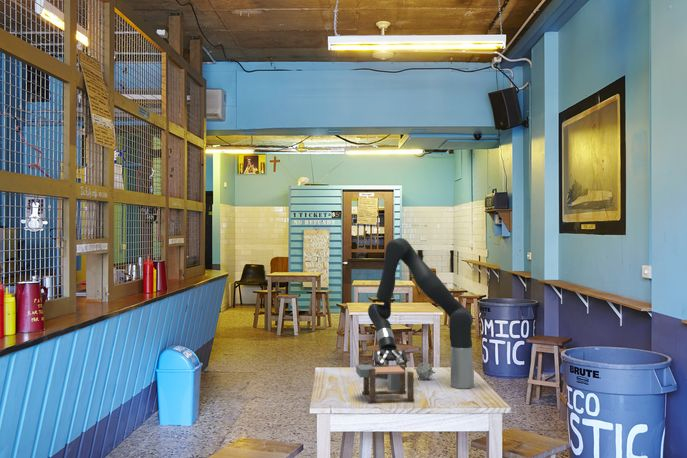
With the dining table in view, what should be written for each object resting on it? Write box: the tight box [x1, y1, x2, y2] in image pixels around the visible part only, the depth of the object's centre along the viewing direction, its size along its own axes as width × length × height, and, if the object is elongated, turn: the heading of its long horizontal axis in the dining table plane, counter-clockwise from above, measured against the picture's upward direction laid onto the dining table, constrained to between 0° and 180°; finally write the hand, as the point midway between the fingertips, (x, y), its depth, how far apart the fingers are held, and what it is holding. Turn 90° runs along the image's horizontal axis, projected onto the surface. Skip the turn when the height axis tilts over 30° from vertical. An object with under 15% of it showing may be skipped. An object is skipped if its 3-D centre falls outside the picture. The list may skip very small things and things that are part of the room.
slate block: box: [387, 364, 400, 391], centre depth 259 cm, size 5×5×10 cm
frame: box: [361, 361, 415, 404], centre depth 246 cm, size 18×15×13 cm
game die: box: [413, 360, 436, 381], centre depth 280 cm, size 9×8×10 cm
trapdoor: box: [355, 363, 406, 378], centre depth 245 cm, size 18×11×3 cm, turn 98°
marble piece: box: [371, 363, 389, 380], centre depth 289 cm, size 17×15×4 cm
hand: (393, 371), depth 261 cm, fingers open, 8 cm apart
